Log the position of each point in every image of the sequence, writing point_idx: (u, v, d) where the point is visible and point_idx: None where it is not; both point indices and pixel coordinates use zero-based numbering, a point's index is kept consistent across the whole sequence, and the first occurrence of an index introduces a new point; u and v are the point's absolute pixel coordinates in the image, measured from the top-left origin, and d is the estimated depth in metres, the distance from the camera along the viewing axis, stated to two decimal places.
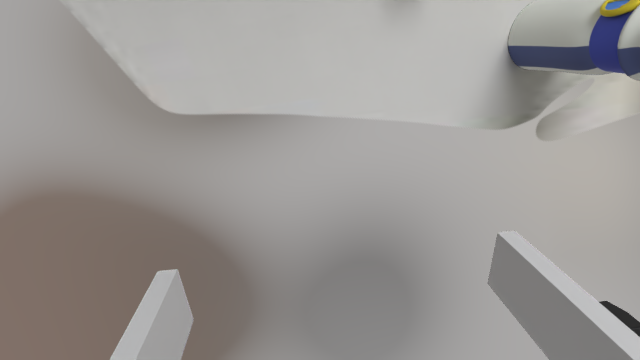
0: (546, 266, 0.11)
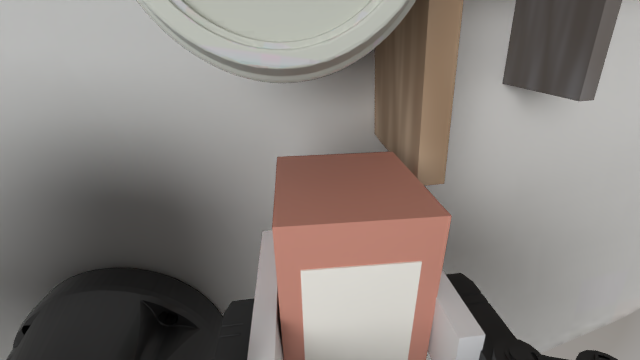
0: None
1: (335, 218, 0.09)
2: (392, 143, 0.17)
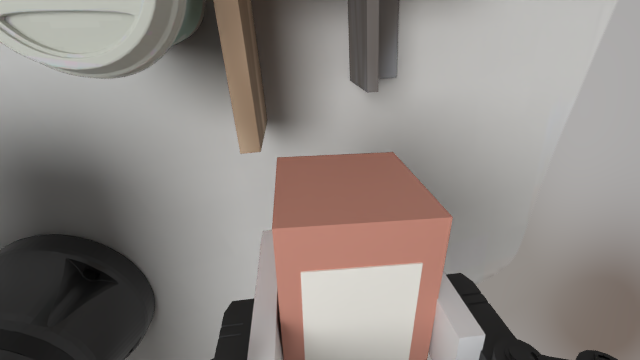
0: None
1: (335, 220, 0.09)
2: None
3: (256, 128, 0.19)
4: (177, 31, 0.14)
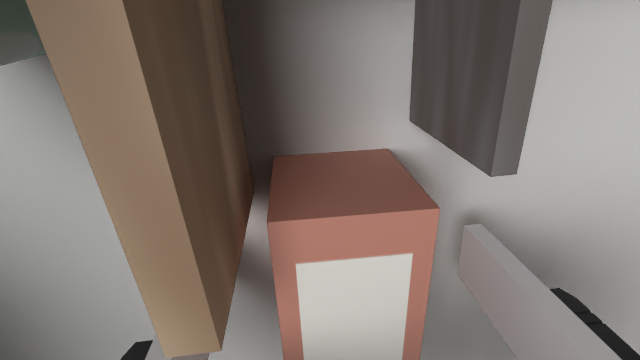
0: (505, 256, 0.12)
1: (327, 213, 0.09)
2: None
3: (206, 300, 0.07)
4: None
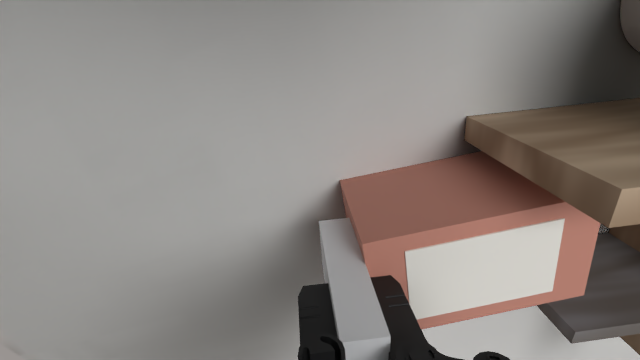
0: (350, 246, 0.13)
1: (592, 229, 0.13)
2: (542, 141, 0.12)
3: None
4: None
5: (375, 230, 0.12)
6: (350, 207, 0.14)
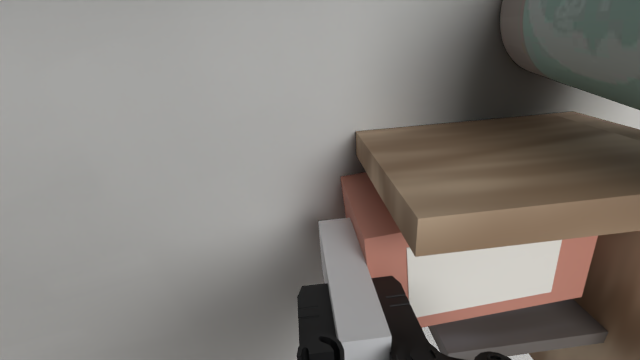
0: (351, 246, 0.13)
1: None
2: (397, 161, 0.12)
3: (465, 248, 0.09)
4: None
5: (377, 225, 0.12)
6: (351, 203, 0.14)
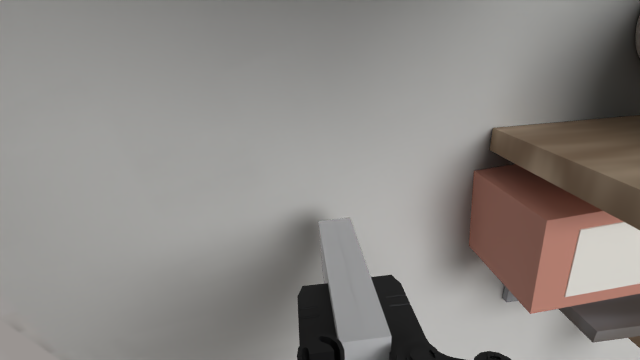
0: (351, 246, 0.13)
1: None
2: (571, 152, 0.13)
3: None
4: None
5: (550, 209, 0.13)
6: (505, 192, 0.15)
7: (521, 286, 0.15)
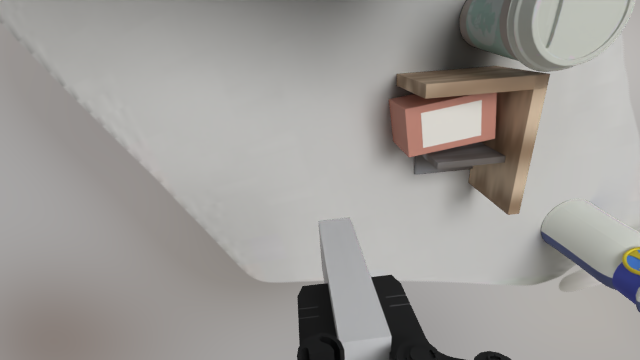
0: (351, 246, 0.13)
1: (494, 106, 0.32)
2: (417, 78, 0.31)
3: (441, 96, 0.28)
4: (521, 62, 0.25)
5: (409, 106, 0.31)
6: (396, 104, 0.33)
7: (405, 146, 0.33)
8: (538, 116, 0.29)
